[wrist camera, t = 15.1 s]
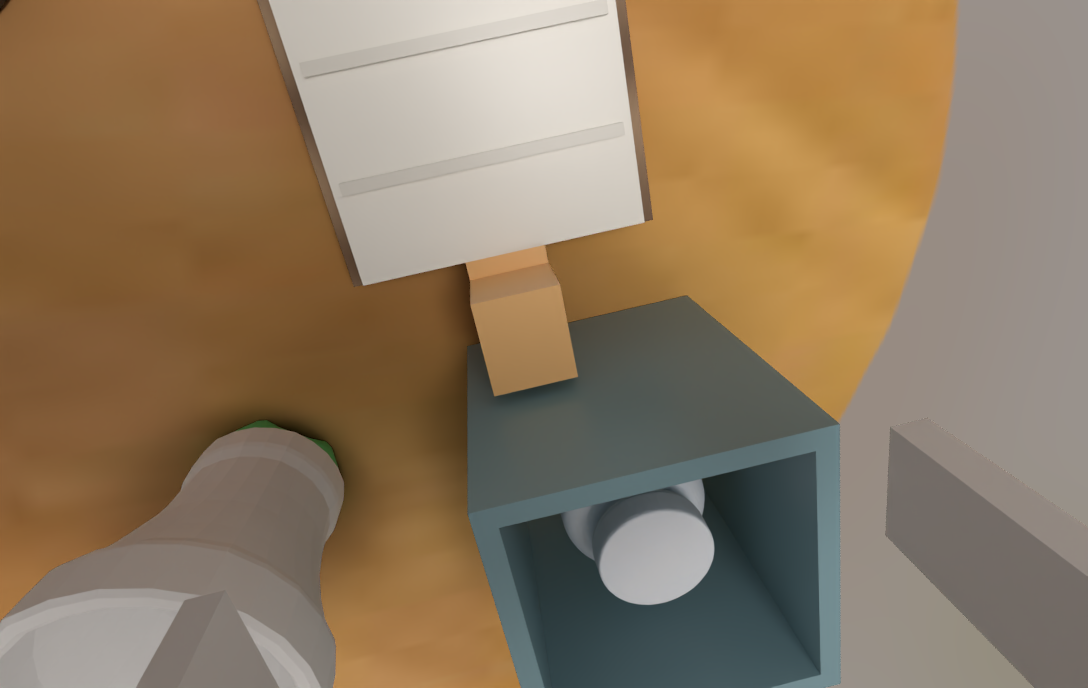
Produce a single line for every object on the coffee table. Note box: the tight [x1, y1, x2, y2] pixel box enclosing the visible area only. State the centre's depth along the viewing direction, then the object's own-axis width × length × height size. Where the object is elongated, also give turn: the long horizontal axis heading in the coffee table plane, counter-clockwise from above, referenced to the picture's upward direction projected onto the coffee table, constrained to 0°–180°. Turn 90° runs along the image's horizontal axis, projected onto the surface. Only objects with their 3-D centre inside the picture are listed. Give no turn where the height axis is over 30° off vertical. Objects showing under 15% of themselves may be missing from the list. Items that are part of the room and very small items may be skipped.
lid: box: [269, 0, 645, 396], centre depth 23 cm, size 17×12×6 cm
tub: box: [467, 296, 841, 688], centre depth 27 cm, size 12×12×14 cm
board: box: [257, 0, 653, 287], centre depth 25 cm, size 15×14×2 cm
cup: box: [0, 420, 344, 688], centre depth 26 cm, size 11×11×14 cm
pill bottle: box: [561, 479, 714, 605], centre depth 28 cm, size 6×6×12 cm
